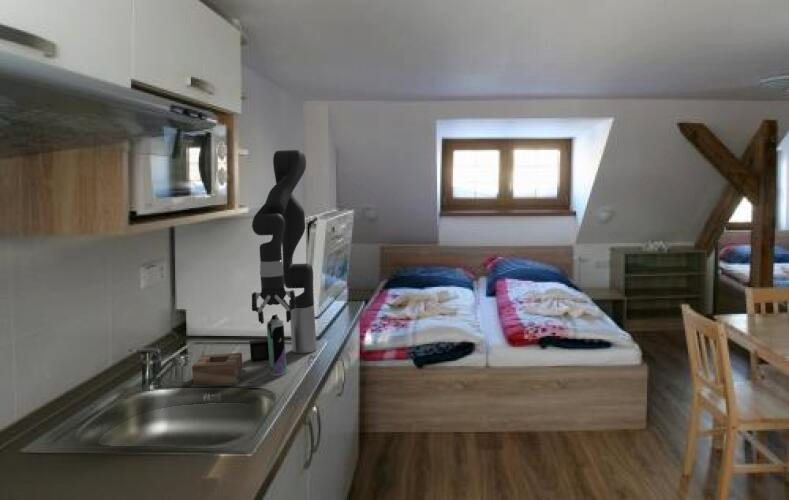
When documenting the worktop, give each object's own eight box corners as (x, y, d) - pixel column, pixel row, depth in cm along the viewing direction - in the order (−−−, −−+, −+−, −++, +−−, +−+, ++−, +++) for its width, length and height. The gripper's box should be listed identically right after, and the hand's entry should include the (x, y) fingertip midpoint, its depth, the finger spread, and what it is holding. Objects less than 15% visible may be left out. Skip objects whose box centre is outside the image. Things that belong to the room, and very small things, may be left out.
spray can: (283, 376, 202) (279, 316, 200) (267, 375, 203) (263, 316, 201) (289, 370, 207) (285, 313, 205) (274, 370, 208) (270, 313, 206)
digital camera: (252, 363, 218) (251, 344, 218) (250, 359, 223) (249, 340, 223) (281, 359, 222) (280, 340, 221) (278, 355, 227) (277, 337, 226)
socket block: (203, 374, 208) (201, 354, 207) (244, 371, 208) (243, 352, 208) (191, 387, 194) (190, 366, 193) (236, 385, 195) (234, 364, 194)
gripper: (295, 271, 205) (297, 319, 207) (252, 273, 205) (255, 321, 206) (292, 274, 198) (295, 323, 200) (248, 276, 197) (251, 326, 199)
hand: (275, 322), depth 203 cm, fingers open, 8 cm apart
